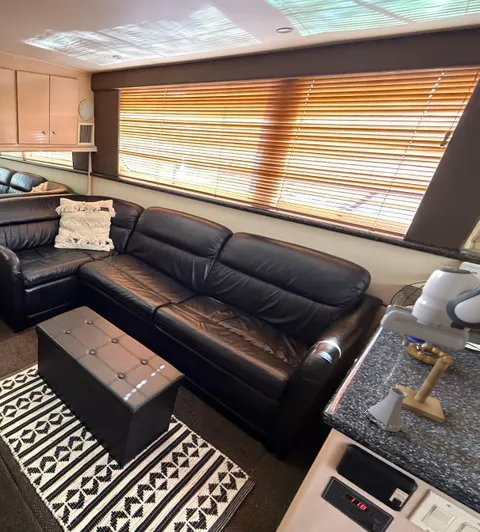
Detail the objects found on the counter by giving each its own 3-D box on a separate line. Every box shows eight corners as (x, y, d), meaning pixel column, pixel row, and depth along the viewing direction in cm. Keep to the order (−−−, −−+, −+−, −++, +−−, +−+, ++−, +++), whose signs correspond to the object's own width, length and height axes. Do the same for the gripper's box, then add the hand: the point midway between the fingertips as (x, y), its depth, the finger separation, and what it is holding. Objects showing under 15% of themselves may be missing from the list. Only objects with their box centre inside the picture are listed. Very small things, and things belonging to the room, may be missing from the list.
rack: (436, 403, 89) (465, 359, 83) (442, 423, 83) (474, 377, 77) (394, 387, 95) (418, 344, 89) (396, 405, 88) (423, 360, 82)
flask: (378, 408, 86) (395, 380, 83) (408, 431, 80) (427, 401, 76) (356, 411, 85) (372, 382, 81) (384, 434, 79) (403, 404, 75)
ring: (447, 357, 109) (451, 351, 108) (454, 373, 101) (458, 367, 100) (403, 343, 116) (406, 337, 115) (406, 357, 108) (409, 351, 107)
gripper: (389, 305, 109) (373, 339, 114) (478, 329, 97) (455, 365, 102) (388, 299, 113) (373, 332, 119) (473, 321, 101) (451, 356, 107)
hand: (411, 348), depth 110 cm, fingers closed on ring, 2 cm apart
